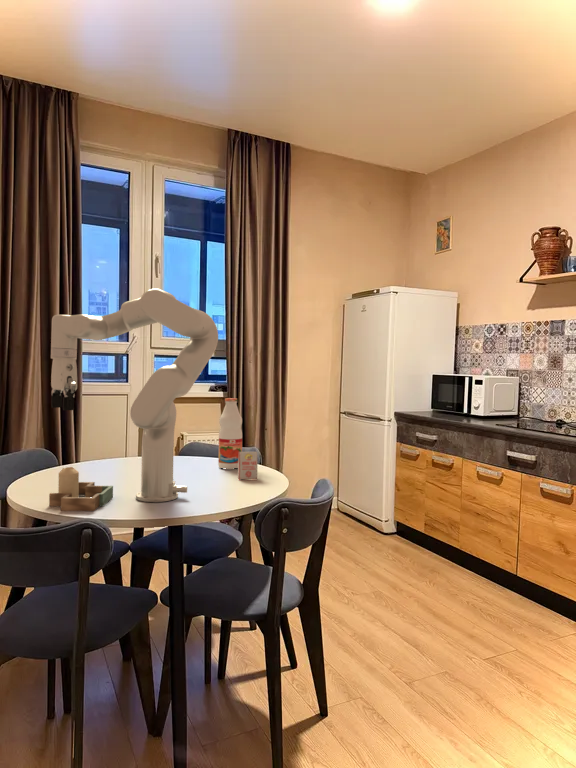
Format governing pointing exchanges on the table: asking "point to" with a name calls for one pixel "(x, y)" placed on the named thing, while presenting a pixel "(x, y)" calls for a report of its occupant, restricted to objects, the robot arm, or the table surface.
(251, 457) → the white red box
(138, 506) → the table surface
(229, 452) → the fruit juice
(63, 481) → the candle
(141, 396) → the robot arm
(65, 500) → the wooden tray
